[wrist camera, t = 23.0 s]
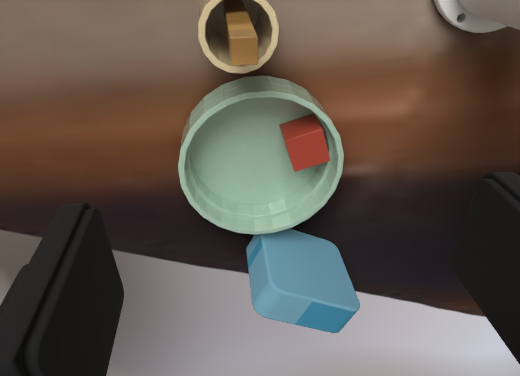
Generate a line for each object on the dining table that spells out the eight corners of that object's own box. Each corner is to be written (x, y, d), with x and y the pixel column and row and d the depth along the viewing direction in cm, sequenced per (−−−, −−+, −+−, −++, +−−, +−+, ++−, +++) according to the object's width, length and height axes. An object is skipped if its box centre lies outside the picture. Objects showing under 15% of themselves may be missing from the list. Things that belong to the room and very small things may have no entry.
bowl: (221, 44, 38) (222, 59, 34) (360, 115, 44) (375, 135, 40) (159, 180, 46) (154, 205, 42) (284, 225, 52) (291, 251, 48)
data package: (244, 242, 53) (252, 316, 43) (259, 218, 51) (271, 289, 41) (320, 264, 57) (343, 336, 47) (336, 242, 55) (364, 312, 45)
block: (279, 124, 43) (284, 140, 40) (314, 112, 43) (322, 128, 39) (288, 154, 45) (294, 172, 42) (321, 143, 45) (330, 160, 42)
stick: (222, -5, 35) (229, 37, 22) (240, -5, 35) (257, 36, 22) (223, 14, 36) (231, 66, 23) (241, 14, 36) (258, 64, 23)
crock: (217, -40, 34) (219, -29, 26) (274, -6, 36) (293, 14, 28) (191, 23, 37) (185, 51, 29) (246, 51, 39) (255, 85, 31)
